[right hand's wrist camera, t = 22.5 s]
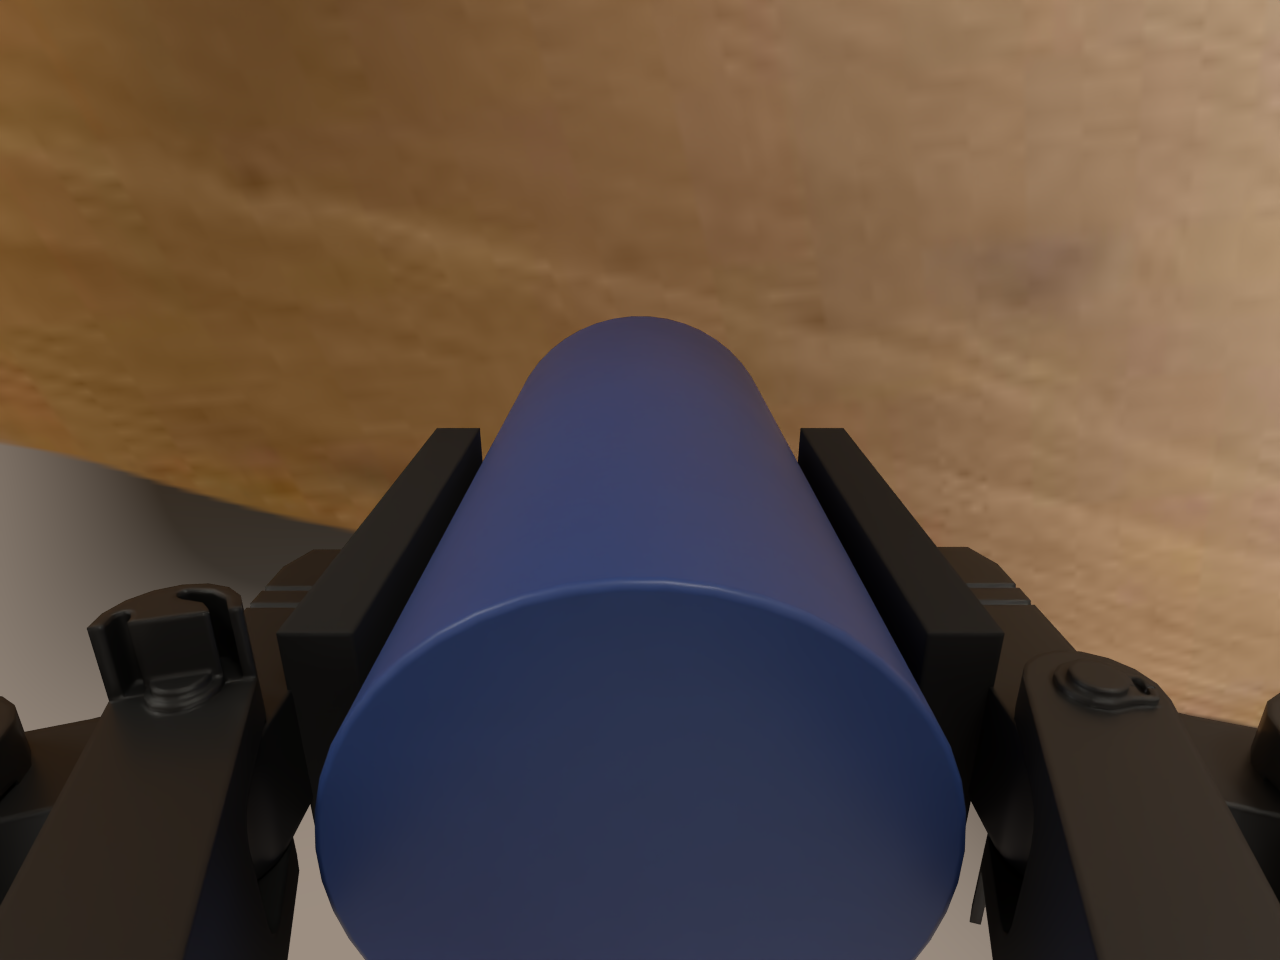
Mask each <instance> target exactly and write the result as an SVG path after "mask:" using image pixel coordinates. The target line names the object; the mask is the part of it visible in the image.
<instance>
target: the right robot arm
mask: <svg viewBox="0 0 1280 960" xmlns="http://www.w3.org/2000/svg"><path fill="white" fill-rule="evenodd" d="M481 464H482V449H481V437H480V428H437V429H436V430H435V431H434V433H433V434H432V435H431V437H430V438H429V439H428V440H427V442H426V443H425V444H424V445H423V447H422V448H421V449H420V451H419V452H418V453H417V454H416V456H415V457H414V458H413V459H412V461H411V462H410V463H409V465H408V466H407V467H406V468H405V470H404V471H403V472H402V473H401V475H400V476H399V477H398V478H397V480H396V481H395V482H394V484H393V485H392V486H391V487H390V489H389V490H388V491H387V492H386V494H385V495H384V496H383V498H382V499H381V500H380V501H379V503H378V504H377V505H376V506H375V508H374V509H373V510H372V512H371V513H370V514H369V515H368V517H367V518H366V519H365V520H364V522H363V523H362V524H361V526H360V527H359V528H358V529H357V531H356V532H355V533H354V534H353V536H352V537H351V538H350V540H349V541H348V542H347V543H346V545H345V546H344V547H343V548H342V550H312V551H310V552H308V553H307V554H305V555H303V556H301V557H300V558H298V559H296V560H294V561H293V562H291V563H289V564H287V565H286V566H284V567H283V568H282V569H281V570H280V571H279V572H278V573H277V575H276V576H275V577H274V578H273V579H272V580H271V581H270V582H269V583H268V585H267V586H266V589H265V591H261V592H260V593H259V595H258V596H257V597H256V598H255V599H254V600H253V601H252V602H251V606H250V608H246V609H245V610H244V609H243V605H242V600H241V596H240V595H239V594H238V593H236V592H235V591H234V590H232V589H231V588H229V587H225V586H219V585H214V584H186V585H178V586H174V587H169V588H164V589H159V590H154V591H151V592H148V593H145V594H143V595H140V596H137V597H134V598H131V599H128V600H126V601H124V602H122V603H120V604H118V605H117V606H115V607H113V608H111V609H110V610H108V611H106V612H104V613H102V614H101V615H100V616H99V617H98V618H97V619H96V620H95V621H94V622H93V623H92V624H91V625H90V626H89V627H88V628H87V630H88V634H89V637H90V640H91V644H92V647H93V650H94V653H95V657H96V660H97V663H98V666H99V670H100V673H101V676H102V679H103V683H104V686H105V689H106V692H107V696H108V699H109V702H108V704H107V706H106V708H105V710H104V712H103V714H102V715H101V717H98V718H94V719H90V720H84V721H79V722H74V723H68V724H63V725H58V726H53V727H48V728H43V729H37V730H32V731H27V732H24V730H23V727H22V724H21V721H20V719H19V716H18V713H17V710H16V707H15V705H14V704H12V703H11V702H9V701H8V700H6V699H5V698H4V697H2V696H0V960H287V959H288V952H289V944H290V936H291V929H292V921H293V914H294V906H295V898H296V891H297V884H298V876H299V866H298V859H297V853H296V848H295V844H294V839H293V836H294V834H295V832H296V830H297V828H298V826H299V824H300V822H301V820H302V819H303V817H304V815H305V813H306V811H307V809H308V807H309V805H310V804H311V809H312V814H313V819H314V824H315V804H316V798H317V791H318V784H319V778H320V775H321V772H322V769H323V766H324V763H325V760H326V757H327V754H328V751H329V748H330V745H331V743H332V741H333V740H334V738H335V736H336V734H337V732H338V730H339V728H340V726H341V725H342V723H343V721H344V719H345V717H346V715H347V713H348V712H349V710H350V708H351V706H352V704H353V702H354V700H355V699H356V697H357V695H358V693H359V691H360V689H361V687H362V686H363V684H364V682H365V680H366V678H367V676H368V674H369V673H370V671H371V669H372V667H373V665H374V663H375V661H376V660H377V658H378V656H379V654H380V652H381V650H382V648H383V647H384V645H385V643H386V641H387V639H388V637H389V635H390V634H391V632H392V630H393V628H394V626H395V624H396V622H397V621H398V619H399V617H400V615H401V613H402V611H403V609H404V607H405V606H406V604H407V602H408V600H409V598H410V596H411V594H412V593H413V591H414V589H415V587H416V585H417V583H418V581H419V580H420V578H421V576H422V574H423V572H424V570H425V568H426V567H427V565H428V563H429V561H430V559H431V557H432V555H433V554H434V552H435V550H436V548H437V546H438V544H439V542H440V541H441V539H442V537H443V535H444V533H445V531H446V529H447V528H448V526H449V524H450V522H451V520H452V518H453V516H454V515H455V513H456V511H457V509H458V507H459V505H460V503H461V502H462V500H463V498H464V496H465V494H466V492H467V490H468V488H469V487H470V485H471V483H472V481H473V479H474V477H475V475H476V474H477V472H478V470H479V468H480V466H481ZM798 464H799V466H800V468H801V470H802V472H803V473H804V475H805V477H806V479H807V481H808V483H809V484H810V486H811V488H812V490H813V492H814V494H815V496H816V497H817V499H818V501H819V503H820V505H821V507H822V509H823V510H824V512H825V514H826V516H827V518H828V520H829V522H830V523H831V525H832V527H833V529H834V531H835V533H836V534H837V536H838V538H839V540H840V542H841V544H842V546H843V547H844V549H845V551H846V553H847V555H848V557H849V559H850V560H851V562H852V564H853V566H854V568H855V570H856V572H857V573H858V575H859V577H860V579H861V581H862V583H863V584H864V586H865V588H866V590H867V592H868V594H869V596H870V597H871V599H872V601H873V603H874V605H875V607H876V609H877V610H878V612H879V614H880V616H881V618H882V620H883V622H884V623H885V625H886V627H887V629H888V631H889V633H890V634H891V636H892V638H893V640H894V642H895V644H896V646H897V647H898V649H899V651H900V653H901V655H902V657H903V659H904V660H905V662H906V664H907V666H908V668H909V670H910V672H911V673H912V675H913V677H914V679H915V681H916V683H917V684H918V686H919V688H920V690H921V692H922V694H923V696H924V697H925V699H926V701H927V703H928V705H929V707H930V709H931V710H932V712H933V714H934V716H935V718H936V720H937V722H938V724H939V725H940V727H941V729H942V731H943V733H944V735H945V737H946V739H947V741H948V742H949V744H950V746H951V749H952V752H953V755H954V758H955V761H956V764H957V767H958V771H959V774H960V777H961V780H962V787H963V794H964V801H965V808H966V822H967V817H968V812H969V807H970V802H972V804H973V806H974V808H975V810H976V812H977V813H978V815H979V817H980V819H981V821H982V823H983V825H984V827H985V829H986V831H987V833H988V834H987V839H986V844H985V848H984V853H983V858H982V862H981V867H980V871H979V876H978V880H977V885H976V890H975V894H974V899H973V903H972V909H971V916H970V922H972V923H976V924H981V921H982V916H983V912H984V908H985V907H986V912H987V919H988V927H989V934H990V942H991V949H992V957H993V960H1280V693H1279V694H1278V695H1276V696H1275V697H1273V698H1272V699H1270V700H1269V701H1267V704H1266V707H1265V710H1264V712H1263V715H1262V718H1261V721H1260V723H1259V726H1258V729H1257V728H1252V727H1247V726H1241V725H1236V724H1231V723H1226V722H1220V721H1215V720H1210V719H1205V718H1200V717H1194V716H1189V715H1185V714H1181V713H1178V712H1177V710H1176V708H1175V706H1174V705H1173V703H1172V701H1171V699H1170V698H1169V697H1168V696H1167V695H1166V694H1165V692H1164V691H1163V690H1162V689H1161V688H1160V687H1159V685H1158V684H1157V683H1155V682H1153V681H1152V680H1150V679H1149V678H1147V677H1146V676H1144V675H1143V674H1141V673H1140V672H1138V671H1137V670H1135V669H1133V668H1131V667H1128V666H1126V665H1124V664H1121V663H1119V662H1116V661H1114V660H1112V659H1109V658H1106V657H1101V656H1097V655H1093V654H1089V653H1085V652H1079V651H1076V650H1075V649H1074V648H1073V647H1072V646H1071V645H1070V643H1069V642H1068V641H1067V640H1066V639H1065V638H1064V637H1063V636H1062V635H1061V634H1060V632H1059V631H1058V630H1057V629H1056V628H1055V627H1054V626H1053V625H1052V624H1051V623H1050V621H1049V620H1048V619H1047V618H1046V617H1045V616H1044V615H1043V614H1042V613H1041V611H1040V610H1039V609H1038V608H1037V607H1036V606H1035V605H1031V600H1030V599H1029V598H1028V597H1027V596H1026V595H1025V594H1024V593H1023V592H1022V591H1021V589H1020V588H1016V584H1015V583H1014V582H1013V581H1012V580H1011V578H1010V577H1009V576H1008V575H1007V574H1006V573H1005V572H1004V571H1003V570H1002V568H1001V567H1000V566H999V565H998V564H996V563H995V562H993V561H991V560H989V559H988V558H986V557H984V556H982V555H981V554H979V553H977V552H975V551H974V550H972V549H970V548H968V547H936V545H935V544H934V543H933V541H932V540H931V539H930V538H929V536H928V535H927V534H926V533H925V531H924V530H923V529H922V527H921V526H920V525H919V524H918V522H917V521H916V520H915V519H914V517H913V516H912V515H911V513H910V512H909V511H908V510H907V508H906V507H905V506H904V505H903V503H902V502H901V501H900V499H899V498H898V497H897V496H896V494H895V493H894V492H893V491H892V489H891V488H890V487H889V486H888V484H887V483H886V482H885V480H884V479H883V478H882V477H881V475H880V474H879V473H878V472H877V470H876V469H875V468H874V466H873V465H872V464H871V463H870V461H869V460H868V459H867V458H866V456H865V455H864V454H863V452H862V451H861V450H860V449H859V447H858V446H857V445H856V444H855V442H854V441H853V440H852V438H851V437H850V436H849V435H848V433H847V432H846V431H845V430H844V428H801V430H800V443H799V455H798Z"/></svg>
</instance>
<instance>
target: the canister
mask: <svg viewBox="0 0 1280 960" xmlns="http://www.w3.org/2000/svg"><path fill="white" fill-rule="evenodd" d="M965 829H966V808H965V801H964V794H963V787H962V780H961V777H960V774H959V771H958V767H957V764H956V761H955V758H954V755H953V752H952V749H951V746H950V744H949V742H948V741H947V739H946V737H945V735H944V733H943V731H942V729H941V727H940V725H939V724H938V722H937V720H936V718H935V716H934V714H933V712H932V710H931V709H930V707H929V705H928V703H927V701H926V699H925V697H924V696H923V694H922V692H921V690H920V688H919V686H918V684H917V683H916V681H915V679H914V677H913V675H912V673H911V672H910V670H909V668H908V666H907V664H906V662H905V660H904V659H903V657H902V655H901V653H900V651H899V649H898V647H897V646H896V644H895V642H894V640H893V638H892V636H891V634H890V633H889V631H888V629H887V627H886V625H885V623H884V622H883V620H882V618H881V616H880V614H879V612H878V610H877V609H876V607H875V605H874V603H873V601H872V599H871V597H870V596H869V594H868V592H867V590H866V588H865V586H864V584H863V583H862V581H861V579H860V577H859V575H858V573H857V572H856V570H855V568H854V566H853V564H852V562H851V560H850V559H849V557H848V555H847V553H846V551H845V549H844V547H843V546H842V544H841V542H840V540H839V538H838V536H837V534H836V533H835V531H834V529H833V527H832V525H831V523H830V522H829V520H828V518H827V516H826V514H825V512H824V510H823V509H822V507H821V505H820V503H819V501H818V499H817V497H816V496H815V494H814V492H813V490H812V488H811V486H810V484H809V483H808V481H807V479H806V477H805V475H804V473H803V472H802V470H801V468H800V466H799V464H798V462H797V460H796V459H795V457H794V455H793V453H792V451H791V449H790V447H789V446H788V444H787V442H786V440H785V438H784V436H783V434H782V433H781V431H780V429H779V427H778V425H777V423H776V422H775V420H774V418H773V416H772V414H771V412H770V410H769V409H768V407H767V405H766V403H765V401H764V399H763V397H762V396H761V394H760V392H759V390H758V388H757V386H756V384H755V383H754V381H753V379H752V377H751V376H750V374H749V373H748V371H747V370H746V369H745V367H744V366H743V364H742V363H741V362H740V361H739V360H738V359H737V358H736V357H735V356H734V355H733V354H732V353H731V351H730V350H728V349H727V348H726V347H725V346H723V345H722V344H721V343H720V342H718V341H717V340H716V339H714V338H712V337H711V336H709V335H707V334H706V333H704V332H702V331H700V330H698V329H696V328H693V327H691V326H689V325H686V324H684V323H680V322H676V321H673V320H669V319H664V318H657V317H640V316H631V317H623V318H616V319H611V320H607V321H603V322H600V323H596V324H594V325H591V326H589V327H586V328H584V329H582V330H580V331H578V332H576V333H574V334H573V335H571V336H569V337H567V338H566V339H564V340H563V341H562V342H560V343H559V344H558V345H557V346H555V347H554V348H553V349H551V350H550V351H549V352H548V354H547V355H546V356H545V357H544V358H543V359H542V360H541V361H540V362H539V363H538V364H537V366H536V367H535V368H534V370H533V371H532V373H531V374H530V375H529V377H528V379H527V381H526V383H525V384H524V386H523V388H522V390H521V392H520V394H519V396H518V397H517V399H516V401H515V403H514V405H513V407H512V409H511V410H510V412H509V414H508V416H507V418H506V420H505V422H504V423H503V425H502V427H501V429H500V431H499V433H498V435H497V436H496V438H495V440H494V442H493V444H492V446H491V448H490V449H489V451H488V453H487V455H486V457H485V459H484V461H483V462H482V464H481V466H480V468H479V470H478V472H477V474H476V475H475V477H474V479H473V481H472V483H471V485H470V487H469V488H468V490H467V492H466V494H465V496H464V498H463V500H462V502H461V503H460V505H459V507H458V509H457V511H456V513H455V515H454V516H453V518H452V520H451V522H450V524H449V526H448V528H447V529H446V531H445V533H444V535H443V537H442V539H441V541H440V542H439V544H438V546H437V548H436V550H435V552H434V554H433V555H432V557H431V559H430V561H429V563H428V565H427V567H426V568H425V570H424V572H423V574H422V576H421V578H420V580H419V581H418V583H417V585H416V587H415V589H414V591H413V593H412V594H411V596H410V598H409V600H408V602H407V604H406V606H405V607H404V609H403V611H402V613H401V615H400V617H399V619H398V621H397V622H396V624H395V626H394V628H393V630H392V632H391V634H390V635H389V637H388V639H387V641H386V643H385V645H384V647H383V648H382V650H381V652H380V654H379V656H378V658H377V660H376V661H375V663H374V665H373V667H372V669H371V671H370V673H369V674H368V676H367V678H366V680H365V682H364V684H363V686H362V687H361V689H360V691H359V693H358V695H357V697H356V699H355V700H354V702H353V704H352V706H351V708H350V710H349V712H348V713H347V715H346V717H345V719H344V721H343V723H342V725H341V726H340V728H339V730H338V732H337V734H336V736H335V738H334V740H333V741H332V743H331V745H330V748H329V751H328V754H327V757H326V760H325V763H324V766H323V769H322V772H321V775H320V778H319V784H318V791H317V798H316V804H315V848H316V854H317V859H318V864H319V869H320V874H321V879H322V882H323V885H324V888H325V890H326V893H327V896H328V898H329V901H330V904H331V906H332V909H333V911H334V913H335V915H336V917H337V918H338V920H339V922H340V924H341V925H342V927H343V929H344V931H345V932H346V934H347V936H348V938H349V939H350V941H351V942H352V943H353V945H354V946H355V947H356V948H357V950H358V951H359V952H360V954H361V955H362V956H363V957H364V959H365V960H915V959H916V958H917V957H918V955H919V954H920V953H921V951H922V950H923V949H924V948H925V946H926V945H927V944H928V942H929V941H930V940H931V938H932V936H933V935H934V933H935V931H936V930H937V928H938V926H939V924H940V923H941V921H942V919H943V917H944V916H945V914H946V912H947V909H948V907H949V904H950V902H951V899H952V897H953V894H954V892H955V889H956V887H957V884H958V880H959V876H960V871H961V866H962V861H963V857H964V852H965Z"/></svg>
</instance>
